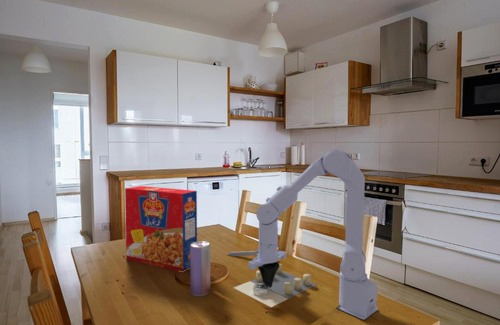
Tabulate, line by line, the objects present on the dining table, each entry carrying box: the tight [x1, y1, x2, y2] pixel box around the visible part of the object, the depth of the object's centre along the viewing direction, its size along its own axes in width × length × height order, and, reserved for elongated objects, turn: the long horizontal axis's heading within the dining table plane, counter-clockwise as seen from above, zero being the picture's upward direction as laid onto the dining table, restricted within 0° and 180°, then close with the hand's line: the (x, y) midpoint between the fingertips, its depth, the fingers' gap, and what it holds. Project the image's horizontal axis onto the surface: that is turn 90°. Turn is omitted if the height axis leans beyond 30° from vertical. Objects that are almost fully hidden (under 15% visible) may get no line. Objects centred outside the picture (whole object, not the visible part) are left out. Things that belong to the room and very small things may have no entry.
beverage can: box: [189, 240, 211, 297], centre depth 97 cm, size 6×6×15 cm
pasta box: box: [124, 185, 198, 272], centre depth 122 cm, size 28×8×28 cm, turn 63°
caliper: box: [226, 249, 259, 257], centre depth 127 cm, size 20×1×6 cm, turn 66°
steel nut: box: [253, 283, 269, 297], centre depth 95 cm, size 5×4×2 cm
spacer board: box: [233, 263, 317, 308], centre depth 100 cm, size 16×21×4 cm
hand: (267, 286), depth 98 cm, fingers closed
